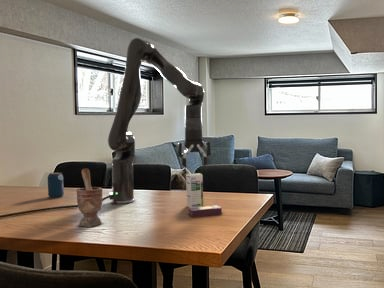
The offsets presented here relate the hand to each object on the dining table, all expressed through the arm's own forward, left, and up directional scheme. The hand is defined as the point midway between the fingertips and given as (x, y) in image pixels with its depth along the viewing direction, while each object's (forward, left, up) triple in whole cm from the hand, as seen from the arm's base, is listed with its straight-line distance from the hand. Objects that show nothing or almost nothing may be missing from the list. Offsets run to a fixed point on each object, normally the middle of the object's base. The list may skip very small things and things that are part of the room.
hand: (194, 166), depth 167 cm
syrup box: (0, 0, -18) cm, 18 cm away
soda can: (-56, +53, -18) cm, 79 cm away
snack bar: (0, -15, -18) cm, 23 cm away
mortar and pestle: (-43, -10, -18) cm, 48 cm away
